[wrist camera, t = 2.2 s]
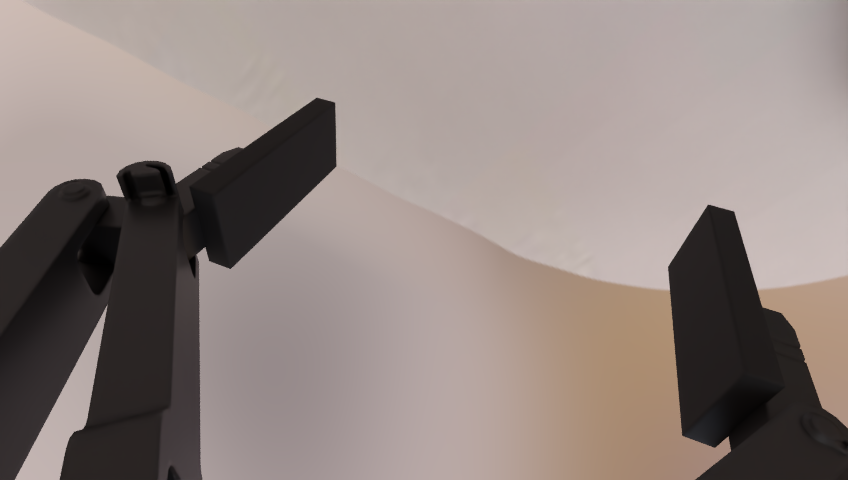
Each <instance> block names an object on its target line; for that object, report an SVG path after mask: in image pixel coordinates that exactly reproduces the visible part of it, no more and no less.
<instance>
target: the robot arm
mask: <svg viewBox="0 0 848 480" xmlns="http://www.w3.org/2000/svg"><path fill="white" fill-rule="evenodd" d="M335 167H336V119H335V103H334V102H331V101H327V100H323V99H320V98H316V99H314V100H313V101H311V102H310V103H309V104H307V105H306V106H304V107H303V108H301V109H300V110H298V111H297V112H296V113H294V114H293V115H291V116H290V117H288V118H287V119H285V120H284V121H283V122H281V123H280V124H278V125H277V126H275V127H274V128H273V129H271V130H270V131H268V132H267V133H265V134H264V135H262V136H261V137H260V138H258V139H257V140H255V141H254V142H252V143H251V144H250V145H248V146H247V147H245V148H244V149H242V148H239V147H238V148H235V149H232V150H229V151H226V152H223V153H221V154H220V155H218V156H217V157H215V158H214V159H212V160H211V162H208V163H206V164H205V165H204V166H202V168H199V169H198V170H196V171H195V172H193V173H191V174H190V175H188V176H187V177H185V178H184V179H182V180H181V181H180V182H178V183H175V180H174V177H173V173H172V170H171V167H170V166H169V165H167V164H166V163H163V162H159V161H143V162H137V163H134V164H131V165H128V166H126V167H125V168H123V169H122V170H120V171H119V173H118V174H117V179H118V182H119V184H120V187H121V190H122V192H123V195H124V197H116V196H106V194H105V191H104V189H103V187H102V185H101V183H99V182H97V181H95V180H89V179H78V180H77V179H75V180H71V181H67V182H64V183H62V184H60V185H57V186H55V187H54V188H53V189H51V190H50V191H49V192H48V193H47V194H46V195H45V196H44V197H43V199H42V200H41V201H40V202H39V203H38V204H37V206H36V207H35V208H34V209H33V211H31V213H30V214H29V215H28V216H27V217H26V218H25V220H24V221H23V222H22V223H21V224H20V225H19V227H18V228H17V229H16V230H15V231H14V232H13V233H12V235H11V236H10V237H9V238H8V239H7V241H6V242H5V243H4V244H3V245H2V246H1V247H0V480H15V478H16V476H17V474H18V473H19V471H20V469H21V467H22V465H23V463H24V461H25V459H26V457H27V456H28V454H29V452H30V450H31V448H32V446H33V444H34V442H35V440H36V439H37V437H38V435H39V433H40V431H41V429H42V427H43V425H44V423H45V421H46V420H47V418H48V416H49V414H50V412H51V410H52V408H53V406H54V405H55V403H56V401H57V399H58V397H59V395H60V393H61V391H62V389H63V387H64V385H65V384H66V382H67V380H68V378H69V376H70V374H71V372H72V370H73V368H74V367H75V365H76V363H77V361H78V359H79V357H80V355H81V353H82V352H83V350H84V348H85V346H86V344H87V342H88V340H89V338H90V336H91V334H92V333H93V331H94V329H95V327H96V325H97V323H98V321H99V319H100V318H101V316H102V314H103V312H104V310H105V308H106V306H107V304H108V307H107V312H106V318H105V324H104V329H103V334H102V340H101V346H100V352H99V357H98V362H97V368H96V374H95V379H94V385H93V391H92V397H91V402H90V407H89V413H88V419H87V423H86V426H85V427H84V429H82V430H79V431H76V432H74V433H73V434H72V436H71V437H70V439H69V441H68V445H67V448H66V452H65V456H64V461H63V466H62V471H61V476H60V480H202V475H201V465H200V361H199V360H200V350H199V261H198V258H197V255H196V254H197V253H199V252H200V251H201V250H202V249H203V248H204V247H206V251H207V254H208V258H209V261H211V262H213V263H216V264H219V265H221V266H224V267H227V268H230V269H231V268H232V267H233V266H234V265H235V264H236V263H237V262H238V261H239V260H240V259H241V258H242V257H243V256H245V254H247V253H248V252H249V251H250V250H251V249H252V248H253V247H254V246H255V245H256V244H257V243H258V242H259V241H260V240H261V239H262V238H263V237H264V236H265V235H266V234H267V233H268V232H269V231H270V230H271V229H272V228H273V227H274V226H275V225H276V224H278V223H279V221H281V220H282V219H283V218H284V217H285V216H286V215H287V214H288V213H289V212H290V211H291V210H292V209H293V208H294V207H295V206H296V205H297V204H298V203H299V202H300V201H301V200H302V199H303V198H304V197H305V196H306V195H307V194H308V193H309V192H311V191H312V189H314V188H315V187H316V186H317V185H318V184H319V183H320V182H321V181H322V180H323V179H324V178H325V177H326V176H327V175H328V174H329V173H330V172H331V171H332V170H333V169H334V168H335ZM668 271H669V283H670V294H671V306H672V319H673V330H674V343H675V354H676V366H677V378H678V390H679V402H680V413H681V426H682V435H683V436H685V437H687V438H690V439H693V440H695V441H698V442H701V443H703V444H707V445H709V446H712V447H716V446H717V445H719V444H720V443H721V442H722V441H723V440H724V439H726V438H727V437H728V436H729V441H730V447H731V452H730V453H728V454H727V455H726V456H725V457H723V458H722V459H721V460H720V461H718V462H717V463H716V464H715V465H713V466H712V467H711V468H709V469H708V470H707V471H706V472H705V473H703V474H702V475H701V476H700V477H698V478H697V479H696V480H848V428H847V427H846V426H844V425H843V424H842V423H841V422H840V421H839V420H838V419H837V418H836V417H835V416H833V415H832V414H830V413H829V412H827V411H826V410H824V409H823V408H822V406H821V404H820V401H819V398H818V395H817V393H816V389H815V387H814V384H813V381H812V378H811V375H810V372H809V370H808V367H807V364H806V363H805V362H804V360H805V358H804V355H803V353H802V350H801V349H800V344H799V341H798V338H797V335H796V332H795V330H794V329H793V327H792V326H791V325H790V324H789V322H788V321H787V320H786V319H785V317H784V316H783V315H782V314H781V313H779V312H776V311H772V310H769V309H766V308H763V307H762V305H761V302H760V298H759V295H758V291H757V288H756V284H755V281H754V278H753V274H752V271H751V267H750V264H749V261H748V257H747V254H746V250H745V247H744V244H743V240H742V237H741V233H740V230H739V227H738V223H737V220H736V216H735V213H734V212H733V211H730V210H726V209H723V208H719V207H715V206H712V205H708V206H707V207H706V209H705V210H704V212H703V214H702V215H701V217H700V218H699V220H698V221H697V223H696V224H695V226H694V228H693V229H692V231H691V232H690V234H689V235H688V237H687V238H686V240H685V242H684V243H683V245H682V246H681V248H680V249H679V251H678V252H677V254H676V256H675V257H674V259H673V260H672V262H671V263H670V265H669V266H668Z"/></svg>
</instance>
